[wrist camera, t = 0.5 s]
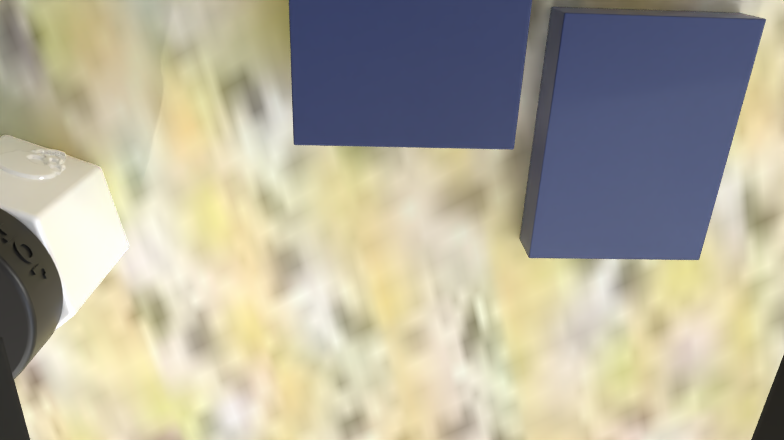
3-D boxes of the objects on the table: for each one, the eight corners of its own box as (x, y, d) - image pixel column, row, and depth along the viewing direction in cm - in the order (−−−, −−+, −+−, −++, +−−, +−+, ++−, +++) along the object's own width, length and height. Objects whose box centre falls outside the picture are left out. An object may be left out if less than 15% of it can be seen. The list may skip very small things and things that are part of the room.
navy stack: (531, -1, 31) (560, 12, 26) (708, 5, 31) (766, 19, 27) (503, 221, 36) (524, 263, 31) (656, 223, 36) (697, 265, 32)
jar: (164, 161, 33) (65, 261, 22) (128, 285, 36) (25, 429, 25) (-10, 99, 32) (-209, 175, 21) (-33, 235, 35) (-218, 365, 24)
